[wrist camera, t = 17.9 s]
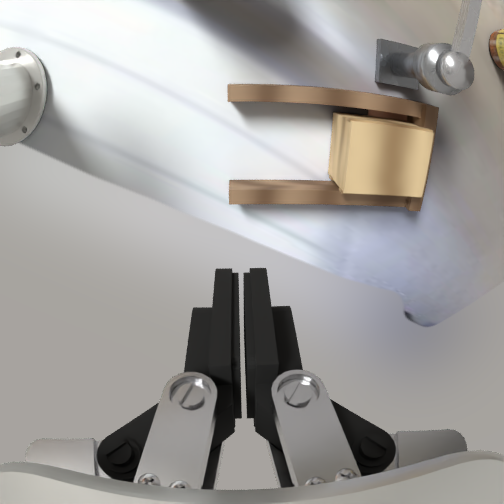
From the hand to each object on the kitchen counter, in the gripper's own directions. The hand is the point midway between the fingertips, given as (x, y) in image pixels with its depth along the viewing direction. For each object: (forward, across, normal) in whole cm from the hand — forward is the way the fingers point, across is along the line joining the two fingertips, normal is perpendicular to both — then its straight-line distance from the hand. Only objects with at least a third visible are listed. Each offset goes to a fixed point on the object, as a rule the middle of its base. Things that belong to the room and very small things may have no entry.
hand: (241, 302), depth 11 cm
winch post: (+25, -17, -10) cm, 32 cm away
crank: (+15, -18, -14) cm, 27 cm away
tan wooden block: (+25, -14, 0) cm, 29 cm away
